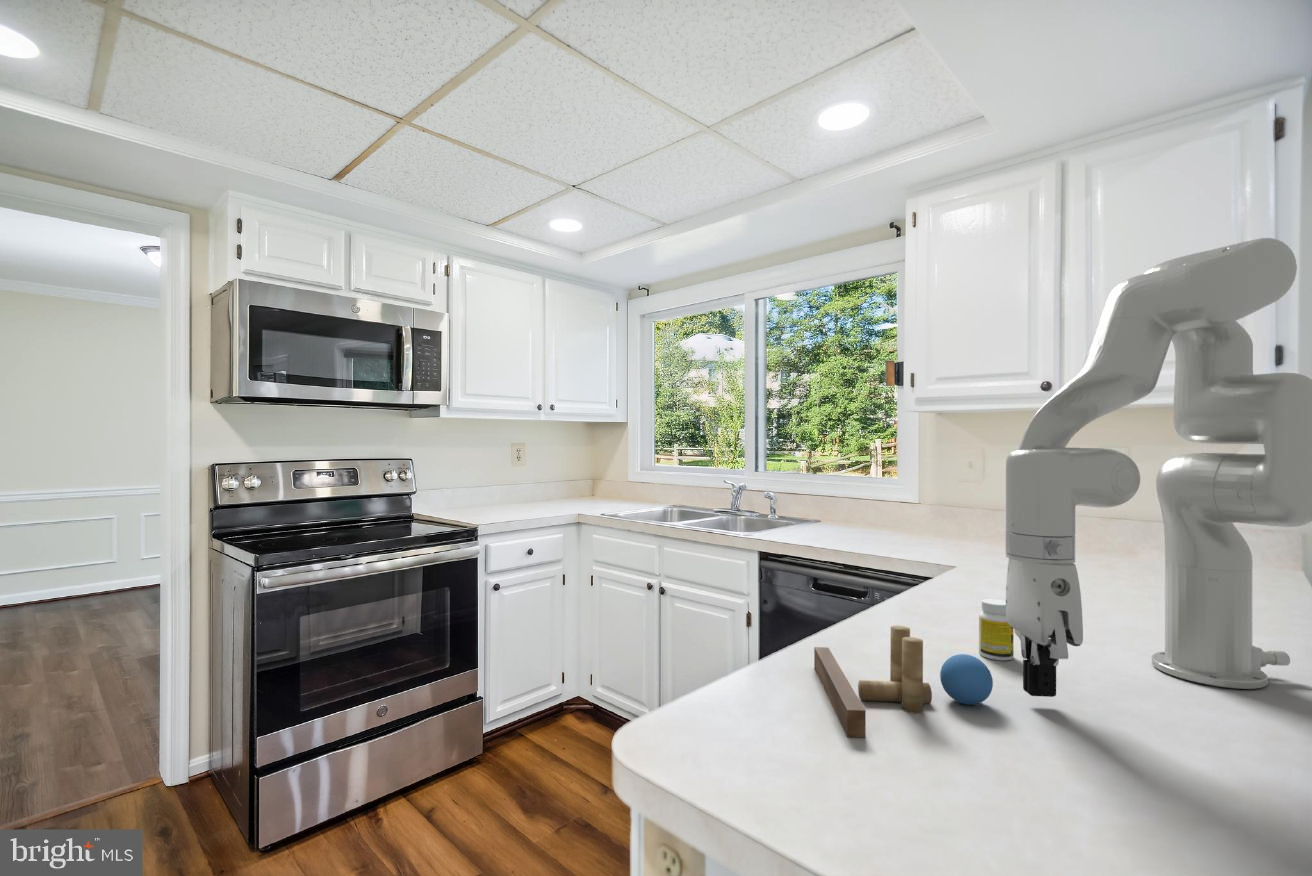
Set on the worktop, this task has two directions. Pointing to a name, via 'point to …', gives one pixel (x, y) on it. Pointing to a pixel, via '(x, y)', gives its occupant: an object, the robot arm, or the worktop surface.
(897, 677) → the pin
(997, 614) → the supplement bottle
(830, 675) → the back rail
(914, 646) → the pin
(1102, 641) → the worktop surface
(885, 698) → the pin front
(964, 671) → the ball
